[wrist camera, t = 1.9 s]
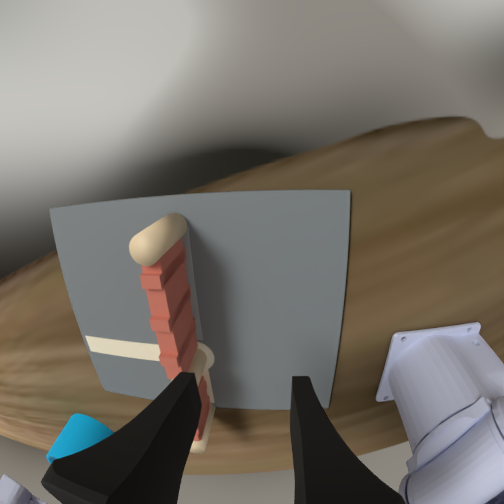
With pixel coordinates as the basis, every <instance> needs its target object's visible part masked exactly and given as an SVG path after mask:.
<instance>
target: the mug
mask: <svg viewBox="0 0 504 504" xmlns="http://www.w3.org/2000/svg"><path fill="white" fill-rule="evenodd" d="M112 434H113V432H112V431H111V430H110V429H109V428H107V427H106V426H105V425H104V424H102V423H100V422H99V421H97V420H95V419H93V418H91V417H89V416H86V415H83V414H74V415H72V416H71V418H70V419H69V421H68V422H67V424H66V425H65V427H64V429H63V430H62V432H61V433H60V435H59V436H58V438H57V439H56V441H55V443H54V444H53V446H52V447H51V449H50V450H49V452H48V454H47V456H46V458H47V460H48V461H49V463H50V464H51V463H52V462H53V460H55V459H59V458H62V457H65V456H68V455H71V454H74V453H76V452H79V451H81V450H84V449H86V448H88V447H90V446H92V445H94V444H96V443H98V442H100V441H102V440H103V439H105V438H107V437H109V436H110V435H112Z"/></svg>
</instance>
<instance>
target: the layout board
mask: <svg viewBox="0 0 504 504" xmlns="http://www.w3.org/2000/svg"><path fill="white" fill-rule="evenodd" d="M173 212H175V213H179V214H181V215H182V216H183V217H184V218H185V220H186V222H187V231H186V233H185V234H184V235H183V236H182V243H183V247H185V252H186V259H185V267H186V274H187V282H188V285H190V289H191V296H190V302H191V308H192V315H193V319H195V322H196V329H195V333H196V339H197V344H198V347H197V348H199V349H201V350H202V351H204V352H205V354H206V356H207V361H206V364H205V367H204V370H203V373H202V376H204V381H206V384H207V390H206V391H207V396H209V398H210V403H213V404H214V405H215V407H221V408H238V409H270V410H287V409H290V406H291V389H292V376H309V377H310V379H311V382H312V385H313V388H314V391H315V393H316V395H317V397H318V400H319V402H320V404H321V406H322V407H323V408H328V407H329V401H330V396H331V390H332V385H333V379H334V373H335V366H336V360H337V353H338V346H339V339H340V331H341V323H342V314H343V305H344V295H345V284H346V272H347V259H348V242H349V221H350V190H260V191H233V192H212V193H195V194H180V195H166V196H154V197H143V198H132V199H122V200H112V201H103V202H94V203H86V204H78V205H70V206H63V207H56V208H51V209H50V216H51V222H52V227H53V232H54V237H55V242H56V247H57V252H58V256H59V260H60V264H61V268H62V272H63V276H64V280H65V284H66V287H67V291H68V294H69V298H70V301H71V304H72V307H73V310H74V314H75V317H76V320H77V323H78V325H79V328H80V331H81V334H82V337H83V339H84V342H85V345H86V347H87V350H88V352H89V355H90V358H91V360H92V362H93V365H94V367H95V370H96V372H97V374H98V377H99V379H100V381H101V383H102V385H103V388H104V390H106V391H110V392H115V393H119V394H124V395H129V396H135V397H140V398H146V399H152V400H154V399H155V398H156V397H157V396H158V395H159V394H160V393H161V392H162V391H163V390H164V389H165V388H166V387H167V386H168V385H169V384H170V382H171V380H172V379H168V377H167V374H166V371H165V367H164V366H161V363H160V360H159V355H160V353H161V352H160V349H159V345H158V341H157V337H156V333H155V331H152V329H151V325H150V321H149V319H150V318H151V311H150V307H149V302H148V298H147V293H146V289H142V285H141V280H140V275H141V274H142V267H141V265H140V264H138V263H137V262H135V260H134V259H133V258H132V256H131V254H130V251H129V244H130V241H131V239H132V238H133V237H134V236H135V235H136V234H138V233H139V232H141V231H142V230H144V229H145V228H147V227H148V226H150V225H152V224H153V223H155V222H156V221H158V220H159V219H161V218H162V217H164V216H166V215H167V214H169V213H173Z"/></svg>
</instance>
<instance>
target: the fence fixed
mask: <svg viewBox="0 0 504 504" xmlns="http://www.w3.org/2000/svg"><path fill="white" fill-rule="evenodd" d="M206 361H207V356H206V354H205V352H204V351H202V350H201V349H199V348H197V349H196V352H195V354H194V357H193V360H192V362H191V365H190V367H189V370H188V372H190V373H195V376H196V381H197V385H198V390H199V394H200V398H201V403H202V408H201V414H200V419H199V424H198V428H197V431H196V434H195V437H194V440H193V443H192V446H191V449H190V452H193V453H198V454H200V453H204V452H205V449H206V445H207V441H208V437H209V433H210V429H211V425H212V420H213V416H214V412H215V408H216V407H215V405H214V404H213V403H210V398H209V396H207V391H206V390H207V384H206V381H204V376H202V373H203V370H204V367H205V364H206ZM172 380H173V379H172ZM172 380H171V381H172Z"/></svg>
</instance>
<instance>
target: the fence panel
mask: <svg viewBox="0 0 504 504" xmlns="http://www.w3.org/2000/svg"><path fill="white" fill-rule="evenodd" d="M186 231H187V222H186V220H185V218H184V217H183V216H182V215H181V214H179V213H175V212H173V213H169V214H167V215H166V216H164V217H162V218H161V219H159V220H158V221H156V222H155V223H153V224H152V225H150V226H148V227H147V228H145V229H144V230H142V231H141V232H139V233H138V234H136V235H135V236H134V237H133V238H132V239H131V241H130V244H129V251H130V254H131V256H132V258H133V259H134V260H135V262H137V263H138V264H140V265H141V267H142V274H141V275H140V280H141V285H142V289H146V293H147V298H148V302H149V307H150V311H151V318H150V319H149V321H150V325H151V329H152V331H155V333H156V337H157V341H158V345H159V349H160V352H161V353H160V355H159V360H160V363H161V366H164V367H165V371H166V374H167V377H168V379H174V378H175V377H176V376H177V375H178V374H179V373H180V372H188V370H189V367H190V365H191V362H192V360H193V357H194V354H195V352H196V349H197V347H198V344H197V339H196V333H195V329H196V322H195V319H193V315H192V308H191V302H190V296H191V289H190V285H188V282H187V274H186V267H185V259H186V252H185V247H183V243H182V236H183V235H184V234H185V233H186Z"/></svg>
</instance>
